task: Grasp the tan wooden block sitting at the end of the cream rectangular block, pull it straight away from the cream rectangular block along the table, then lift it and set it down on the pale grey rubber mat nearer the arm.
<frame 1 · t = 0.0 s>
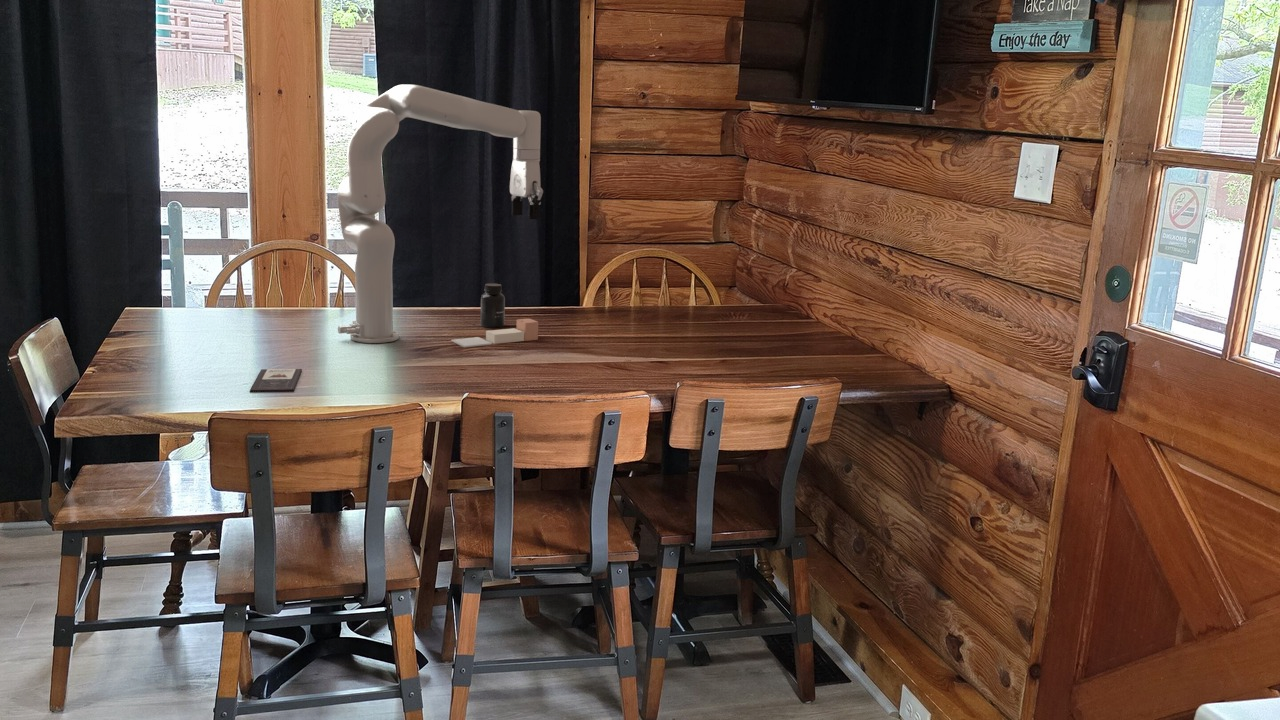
hand: (525, 216, 298), 31 cm above the table, fingers open, 9 cm apart
mat: (471, 342, 280), on the table
cream rectangular block: (505, 340, 285), on the table
chocolate bar: (277, 384, 236), on the table
tan wooden block: (527, 338, 289), on the table
supplement bottle: (492, 326, 302), on the table
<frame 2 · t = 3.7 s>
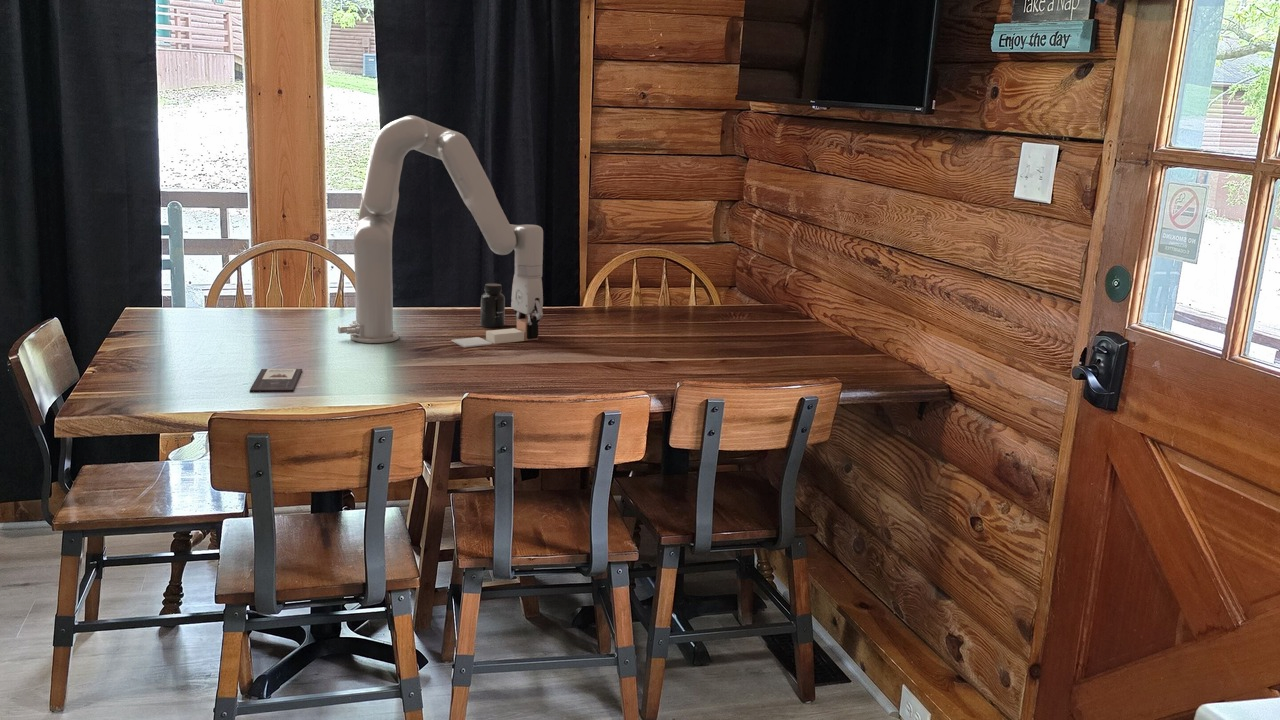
hand: (527, 335, 289), 1 cm above the table, fingers closed on tan wooden block, 5 cm apart
tan wooden block: (527, 338, 289), on the table, touching gripper
everything else where it was.
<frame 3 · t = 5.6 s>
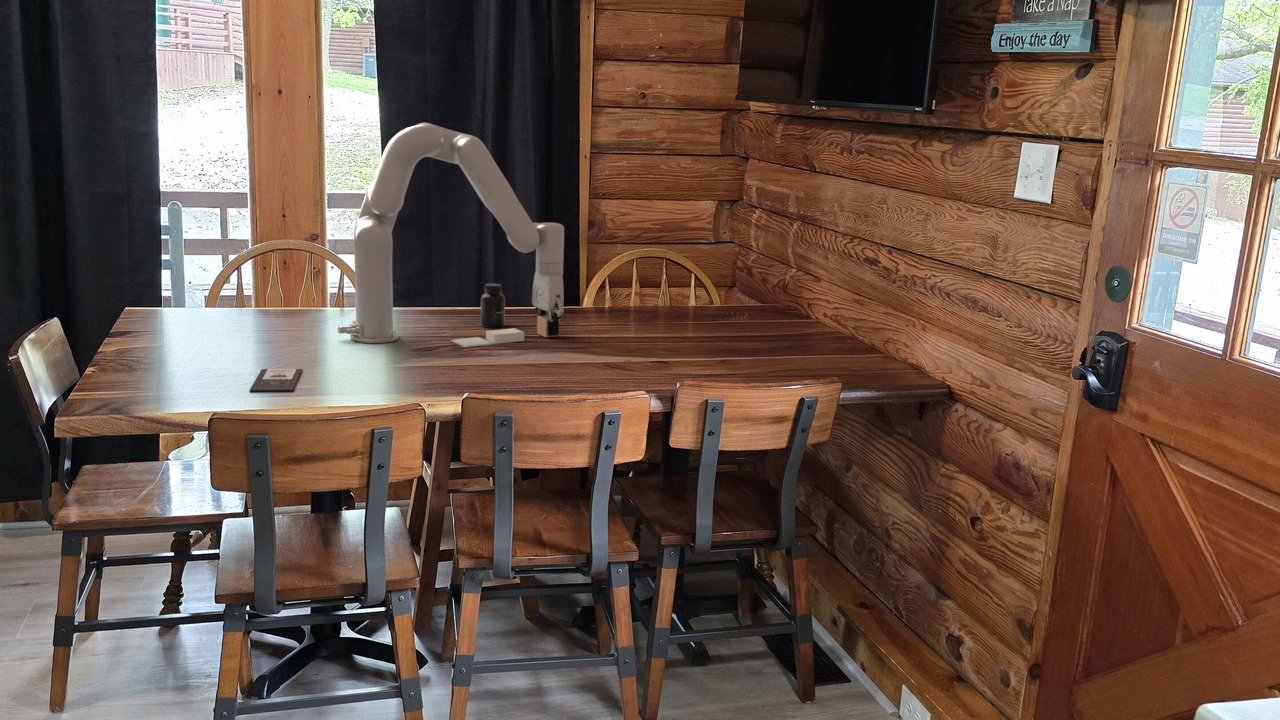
hand: (547, 332, 292), 1 cm above the table, fingers closed on tan wooden block, 5 cm apart
tan wooden block: (547, 334, 293), on the table, touching gripper
everything else where it was.
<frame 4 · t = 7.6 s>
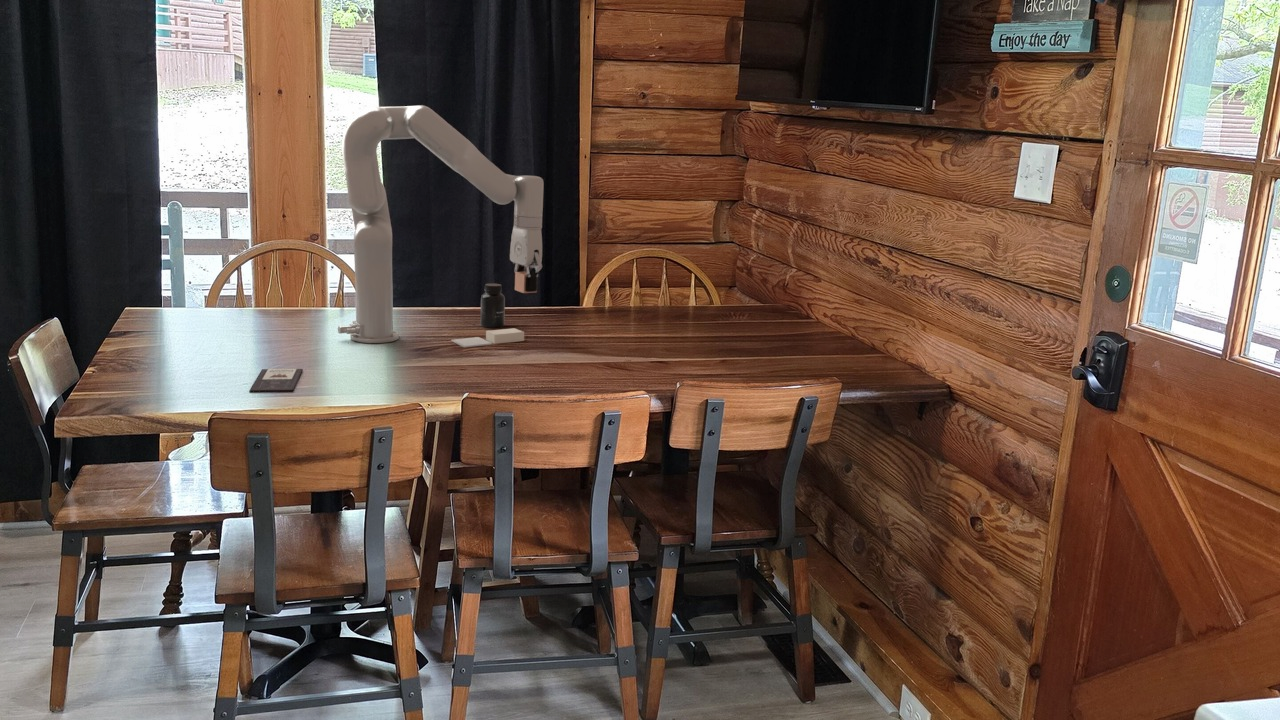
hand: (525, 288, 286), 14 cm above the table, fingers closed on tan wooden block, 5 cm apart
tan wooden block: (525, 291, 286), point 13 cm above the table, touching gripper
everything else where it was.
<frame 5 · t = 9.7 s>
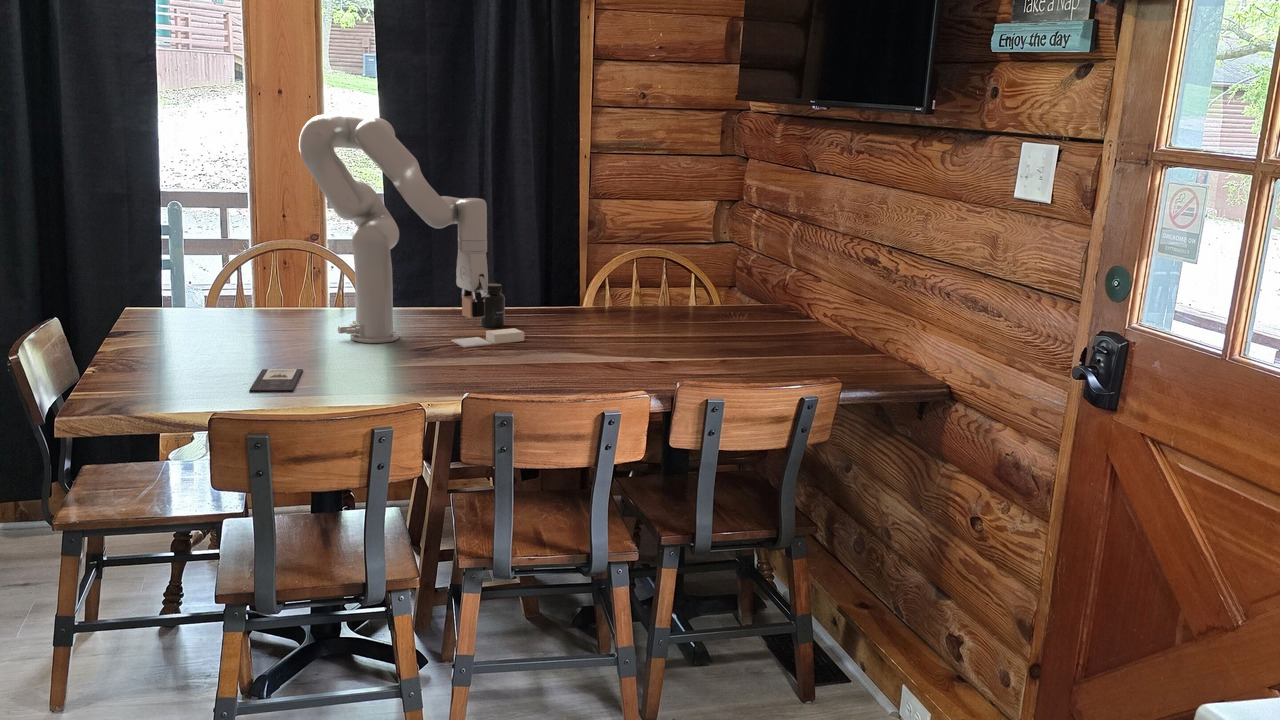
hand: (473, 313, 279), 8 cm above the table, fingers closed on tan wooden block, 5 cm apart
tan wooden block: (473, 316, 279), point 7 cm above the table, touching gripper
everything else where it was.
when the fingers open (3 cm above the table, at t = 11.4 s): tan wooden block drops 2 cm, resting on mat.
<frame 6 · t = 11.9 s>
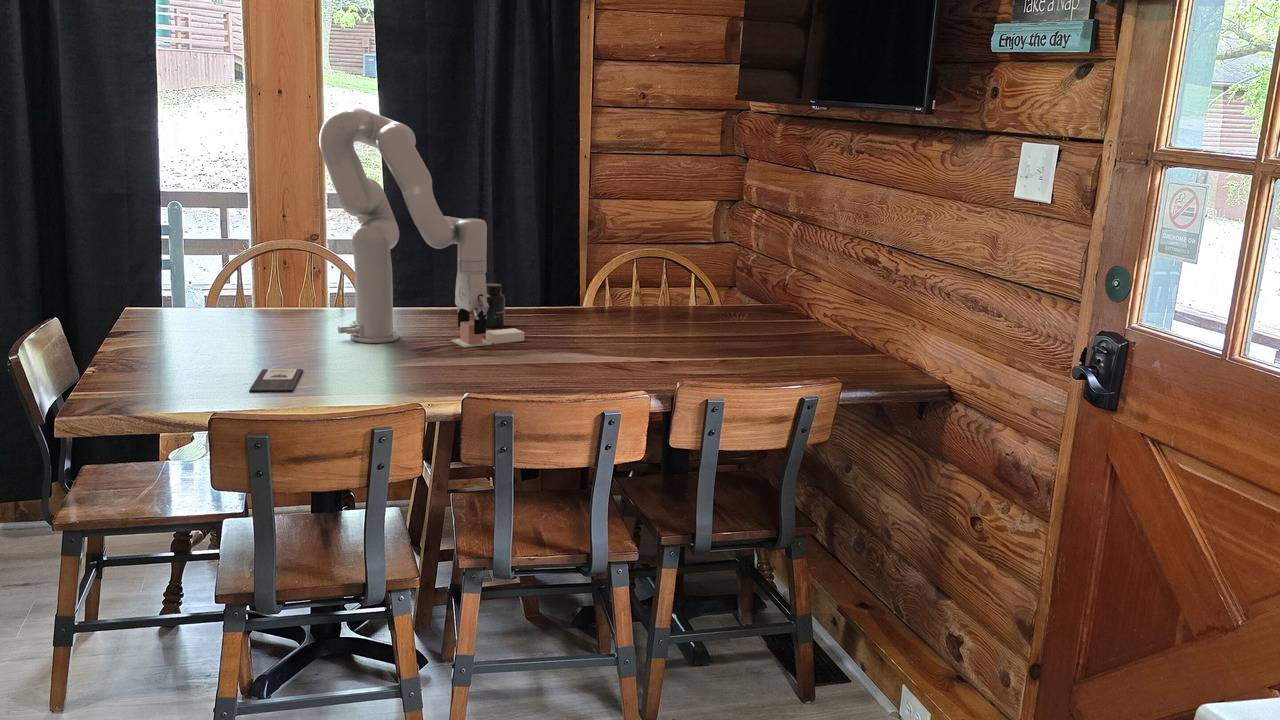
hand: (471, 330, 280), 3 cm above the table, fingers open, 9 cm apart
tan wooden block: (471, 341, 280), resting on mat
everything else where it was.
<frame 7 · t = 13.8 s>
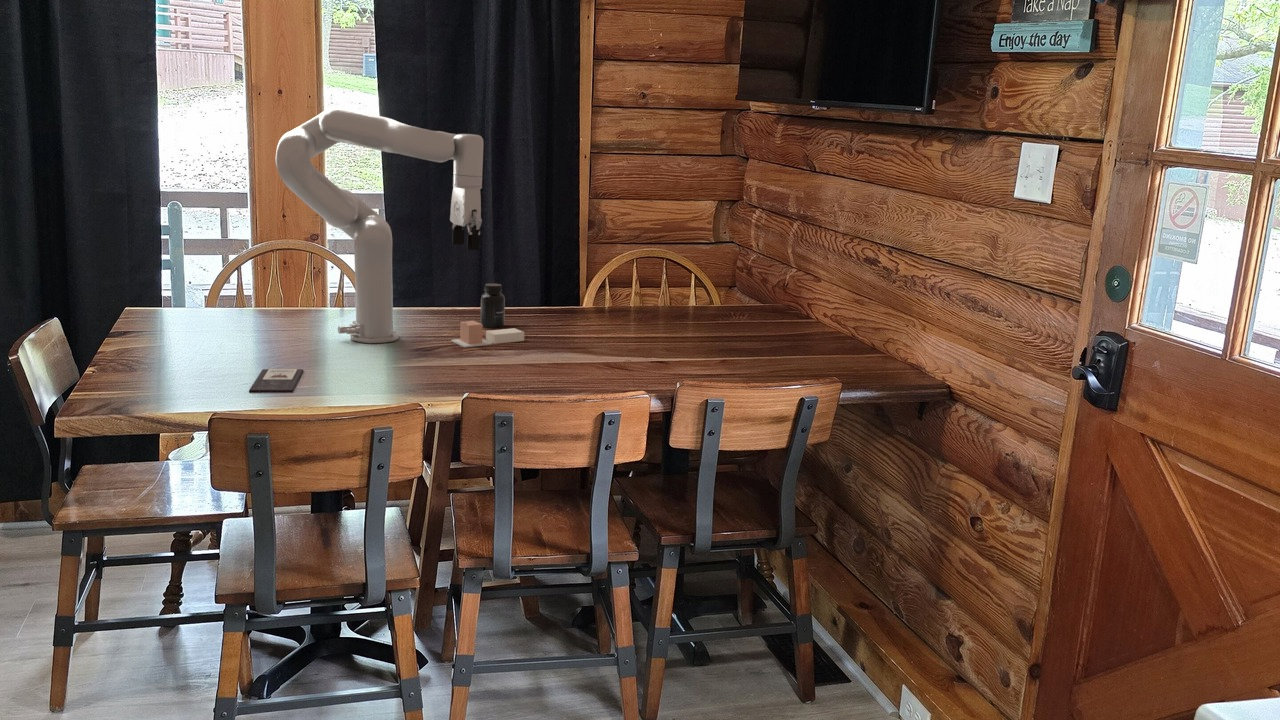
hand: (465, 246, 280), 25 cm above the table, fingers open, 9 cm apart
nothing on the table moved.
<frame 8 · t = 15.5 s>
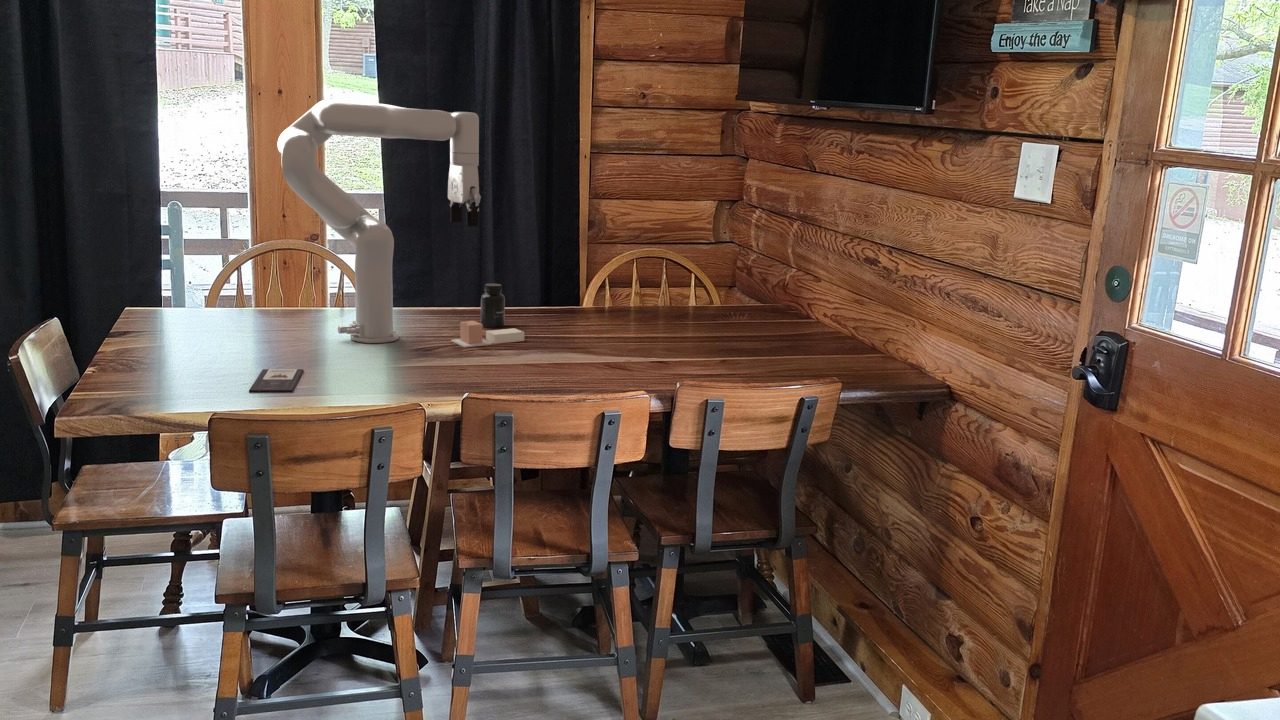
hand: (464, 224, 284), 30 cm above the table, fingers open, 9 cm apart
nothing on the table moved.
at the end: tan wooden block inside the target area on the mat (0.1 cm from its centre), point 0.4 cm above the mat's base; tan wooden block touching mat; the gripper is holding nothing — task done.
